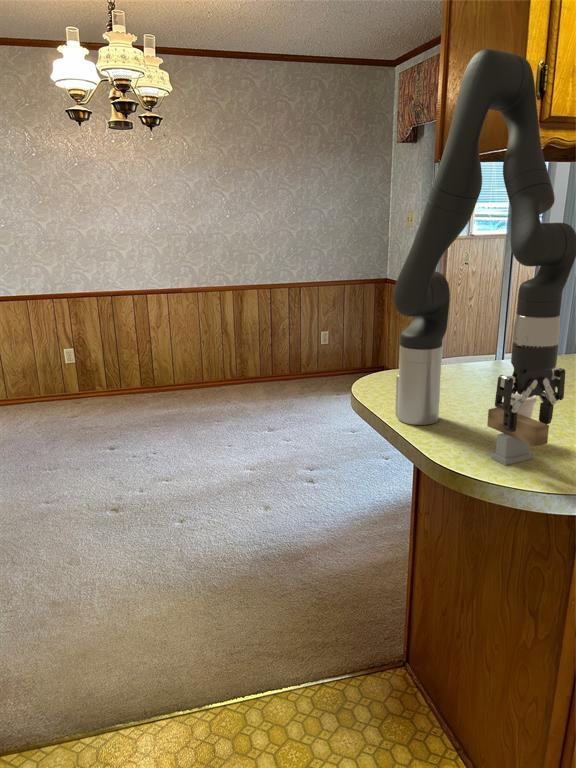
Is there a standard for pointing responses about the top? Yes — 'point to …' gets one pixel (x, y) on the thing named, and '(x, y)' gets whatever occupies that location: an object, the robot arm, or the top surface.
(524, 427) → the walnut bar
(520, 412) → the smoothie
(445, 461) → the top surface
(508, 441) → the block
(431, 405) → the robot arm
